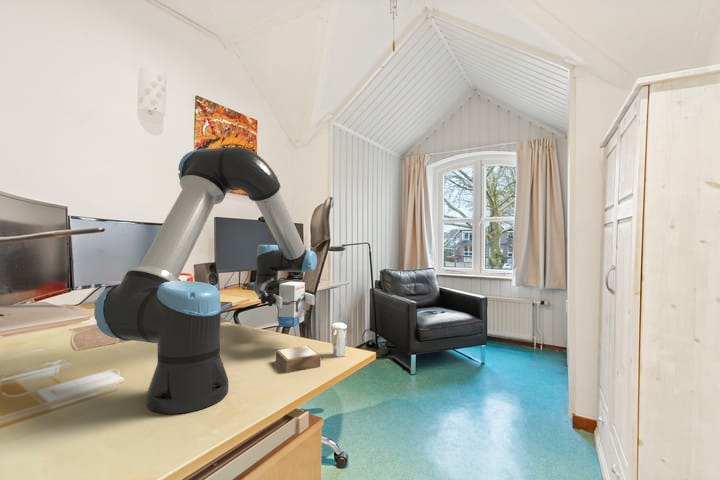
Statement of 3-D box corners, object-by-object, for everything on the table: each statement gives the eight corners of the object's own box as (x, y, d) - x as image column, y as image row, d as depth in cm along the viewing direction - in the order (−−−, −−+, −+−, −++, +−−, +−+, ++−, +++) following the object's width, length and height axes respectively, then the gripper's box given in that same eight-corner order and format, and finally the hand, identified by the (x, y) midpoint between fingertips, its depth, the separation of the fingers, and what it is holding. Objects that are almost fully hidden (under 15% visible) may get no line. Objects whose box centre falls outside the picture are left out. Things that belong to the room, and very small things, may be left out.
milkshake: (349, 357, 96) (349, 321, 96) (329, 357, 96) (330, 321, 96) (350, 352, 101) (350, 318, 100) (331, 352, 101) (331, 317, 101)
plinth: (286, 373, 85) (286, 360, 85) (275, 361, 93) (275, 349, 93) (320, 366, 89) (320, 354, 89) (307, 356, 97) (307, 344, 97)
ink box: (294, 327, 96) (294, 284, 96) (277, 326, 97) (278, 284, 97) (305, 320, 105) (305, 281, 105) (289, 319, 106) (290, 281, 106)
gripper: (241, 281, 111) (258, 290, 92) (305, 278, 122) (332, 286, 102) (241, 304, 111) (258, 318, 92) (304, 300, 122) (332, 311, 102)
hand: (297, 301), depth 97 cm, fingers closed on ink box, 9 cm apart
